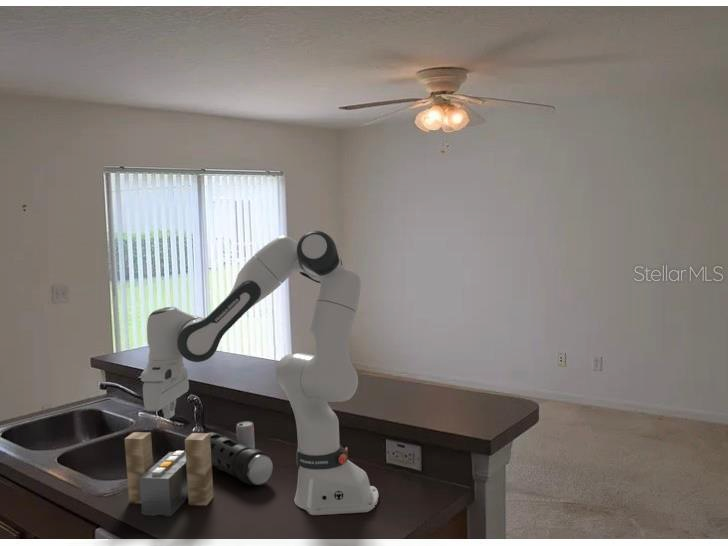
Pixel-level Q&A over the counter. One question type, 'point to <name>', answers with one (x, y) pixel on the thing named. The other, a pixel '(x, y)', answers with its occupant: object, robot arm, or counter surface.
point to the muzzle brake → (240, 460)
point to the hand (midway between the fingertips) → (169, 417)
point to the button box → (165, 485)
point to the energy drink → (245, 433)
